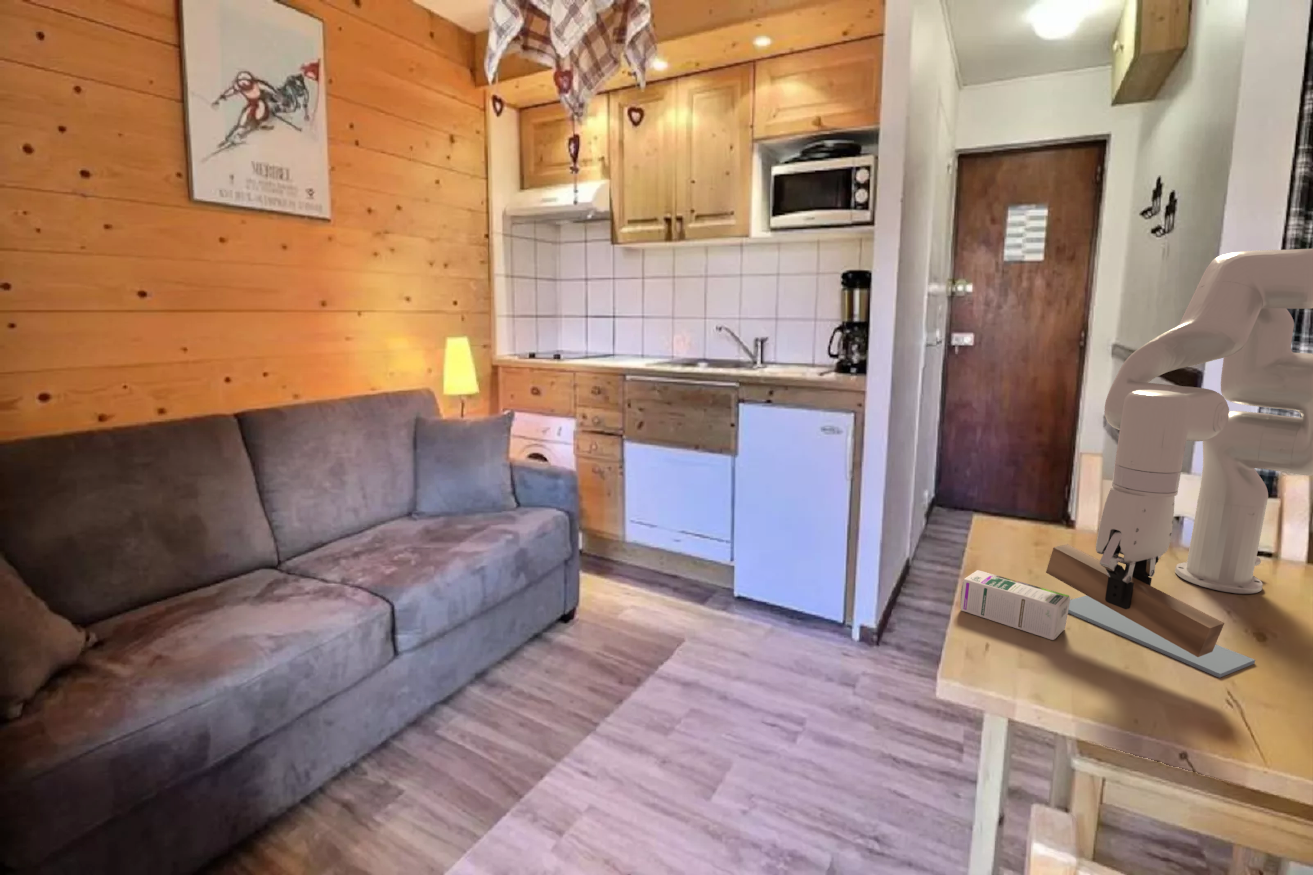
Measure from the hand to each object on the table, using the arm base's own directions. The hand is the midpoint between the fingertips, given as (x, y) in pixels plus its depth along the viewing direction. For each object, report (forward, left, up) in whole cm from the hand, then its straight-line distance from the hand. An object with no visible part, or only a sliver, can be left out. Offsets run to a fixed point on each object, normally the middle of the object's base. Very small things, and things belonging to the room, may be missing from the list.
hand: (1126, 601), depth 99 cm
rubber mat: (-10, -2, -8) cm, 13 cm away
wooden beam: (0, 0, -1) cm, 1 cm away
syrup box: (+3, -7, -5) cm, 9 cm away
